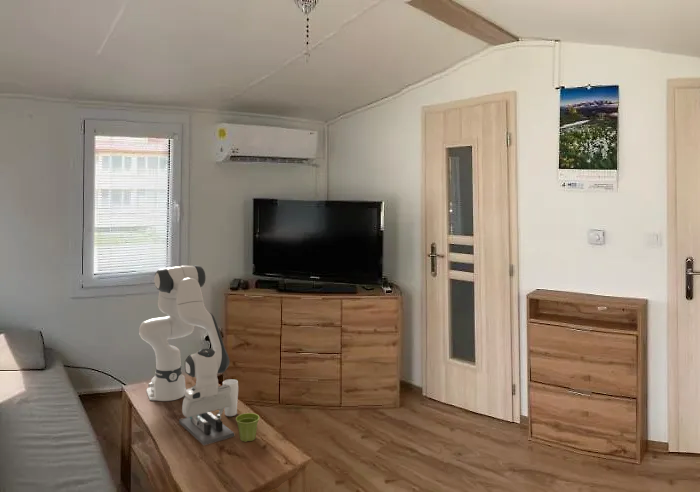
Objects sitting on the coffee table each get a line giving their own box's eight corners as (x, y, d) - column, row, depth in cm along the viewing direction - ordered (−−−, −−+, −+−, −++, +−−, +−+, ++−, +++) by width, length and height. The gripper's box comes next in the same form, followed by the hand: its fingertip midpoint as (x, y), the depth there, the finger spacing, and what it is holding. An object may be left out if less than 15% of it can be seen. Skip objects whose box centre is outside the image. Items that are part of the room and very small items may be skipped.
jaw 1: (191, 421, 229) (191, 412, 228) (195, 421, 229) (195, 411, 229) (207, 435, 216) (207, 425, 216) (210, 434, 217) (210, 424, 216)
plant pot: (264, 436, 220) (264, 415, 219) (250, 445, 211) (250, 424, 210) (245, 431, 223) (244, 411, 223) (231, 441, 215) (230, 420, 214)
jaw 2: (203, 418, 232) (202, 409, 231) (206, 418, 233) (206, 409, 232) (219, 432, 219) (218, 422, 219) (222, 431, 220) (222, 421, 220)
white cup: (234, 418, 237) (234, 384, 235) (220, 416, 238) (219, 383, 237) (241, 412, 243) (240, 379, 242) (226, 410, 245) (226, 378, 243)
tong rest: (179, 422, 231) (178, 412, 231) (208, 415, 239) (207, 405, 239) (203, 445, 211) (203, 434, 211) (234, 436, 219) (234, 425, 218)
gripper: (227, 381, 231) (228, 413, 232) (180, 392, 218) (181, 425, 219) (233, 385, 226) (234, 417, 227) (186, 396, 213) (187, 430, 214)
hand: (207, 421), depth 223 cm, fingers open, 8 cm apart
